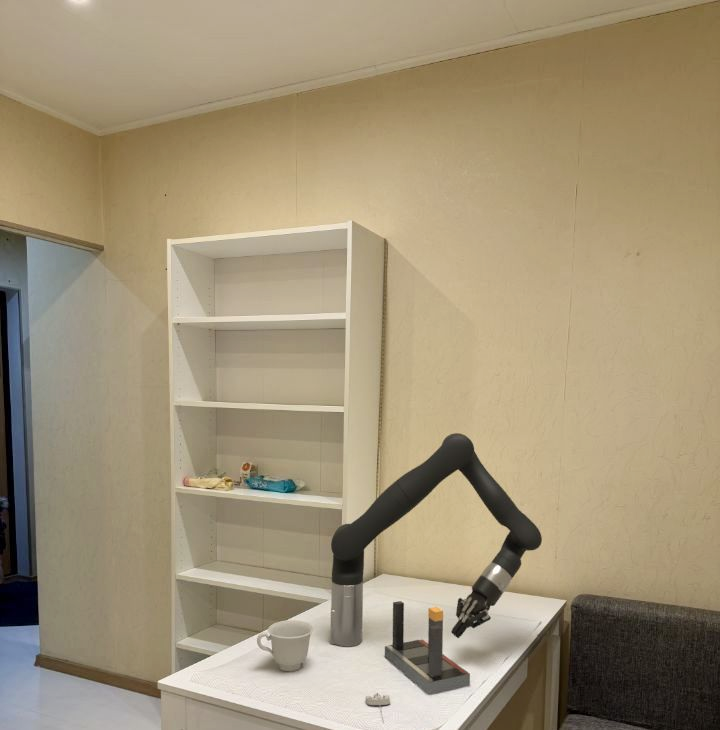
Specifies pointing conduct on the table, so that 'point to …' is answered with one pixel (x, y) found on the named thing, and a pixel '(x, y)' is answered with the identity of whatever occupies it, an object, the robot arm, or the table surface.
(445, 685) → the pillared base stand
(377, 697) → the game controller
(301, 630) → the teacup
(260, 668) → the table surface
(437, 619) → the lever
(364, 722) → the table surface
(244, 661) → the table surface
